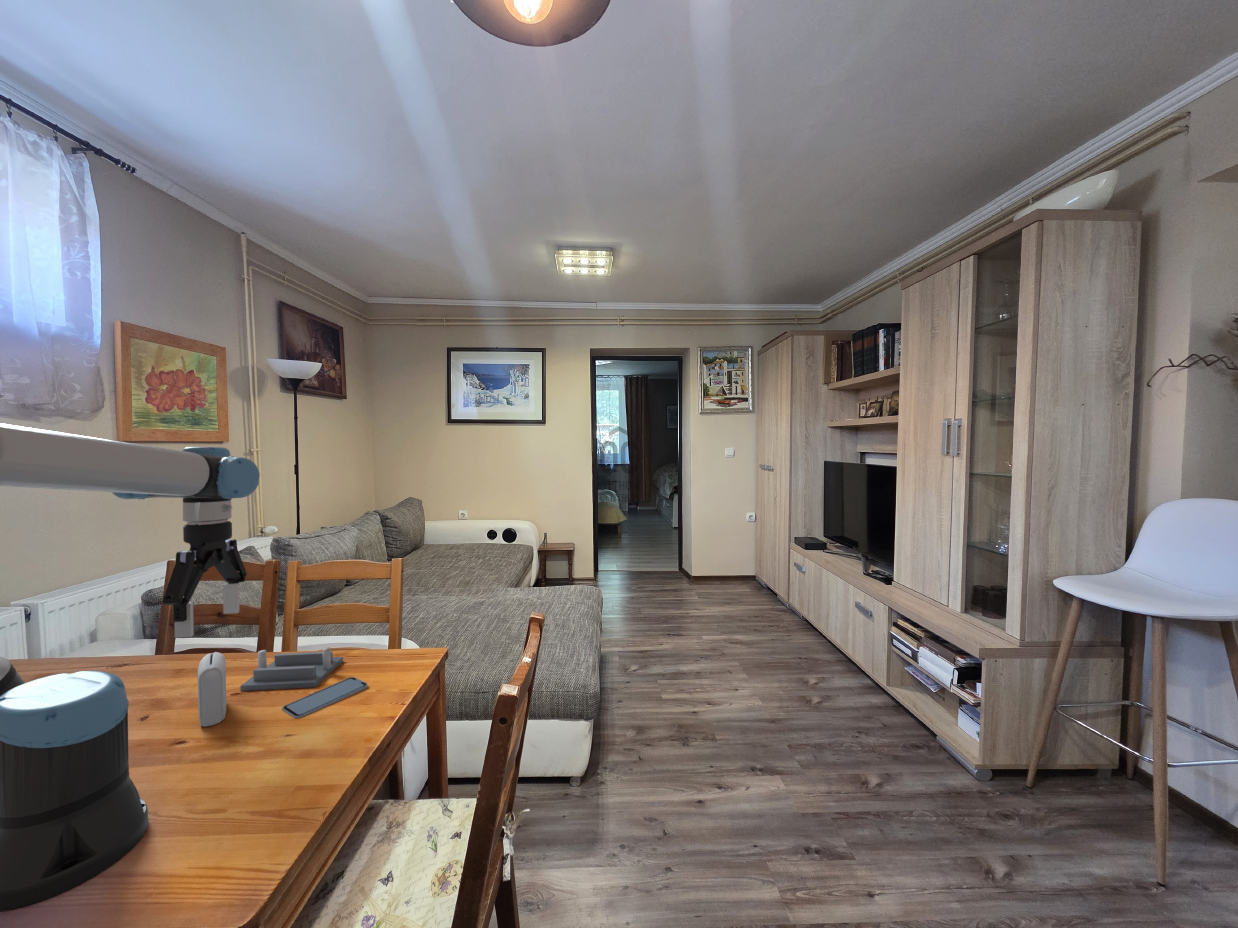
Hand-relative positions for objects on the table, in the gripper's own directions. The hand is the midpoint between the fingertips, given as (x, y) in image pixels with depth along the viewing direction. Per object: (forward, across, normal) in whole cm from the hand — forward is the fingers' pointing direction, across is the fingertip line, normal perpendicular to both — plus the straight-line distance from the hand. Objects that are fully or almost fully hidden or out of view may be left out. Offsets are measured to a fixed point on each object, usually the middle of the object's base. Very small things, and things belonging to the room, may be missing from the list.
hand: (209, 624), depth 96 cm
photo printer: (+19, 0, -1) cm, 19 cm away
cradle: (+18, +15, -9) cm, 25 cm away
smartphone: (+19, +3, -21) cm, 28 cm away
